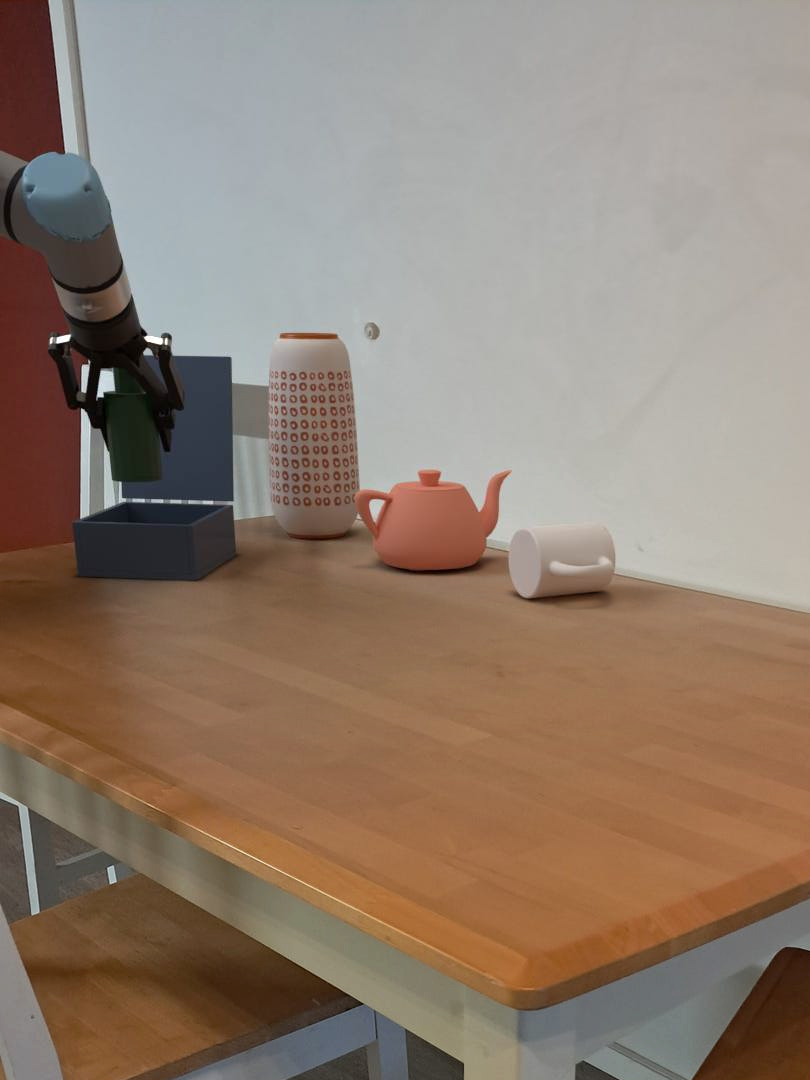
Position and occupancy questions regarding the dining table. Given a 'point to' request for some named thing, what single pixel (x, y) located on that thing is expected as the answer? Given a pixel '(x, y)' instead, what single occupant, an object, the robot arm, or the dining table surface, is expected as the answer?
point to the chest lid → (196, 436)
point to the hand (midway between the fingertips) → (139, 442)
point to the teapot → (431, 522)
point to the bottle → (131, 431)
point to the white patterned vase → (312, 436)
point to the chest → (154, 540)
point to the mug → (561, 559)
